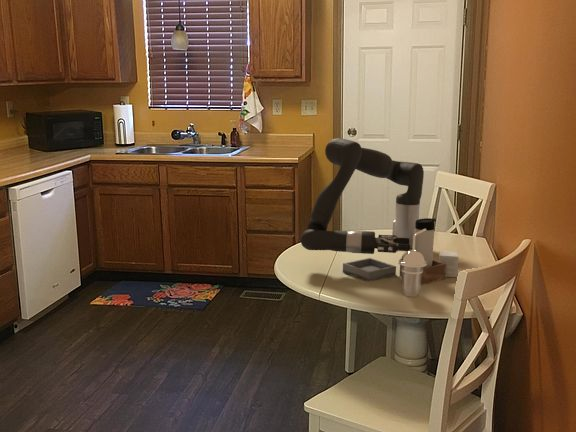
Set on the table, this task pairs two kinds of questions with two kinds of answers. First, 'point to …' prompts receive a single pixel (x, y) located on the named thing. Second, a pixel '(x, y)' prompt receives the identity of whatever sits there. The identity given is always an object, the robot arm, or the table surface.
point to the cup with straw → (412, 269)
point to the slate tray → (369, 269)
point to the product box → (449, 262)
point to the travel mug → (425, 239)
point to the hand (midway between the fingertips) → (409, 244)
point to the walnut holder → (432, 272)
